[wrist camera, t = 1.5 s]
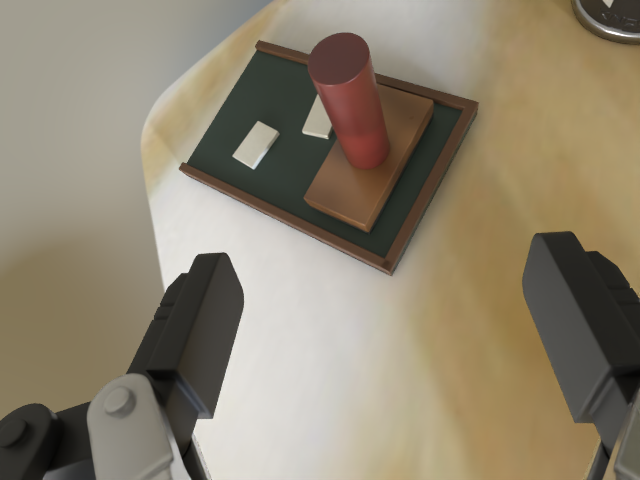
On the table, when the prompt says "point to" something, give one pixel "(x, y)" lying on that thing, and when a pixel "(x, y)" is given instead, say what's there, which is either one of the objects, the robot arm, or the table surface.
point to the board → (320, 156)
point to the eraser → (361, 133)
